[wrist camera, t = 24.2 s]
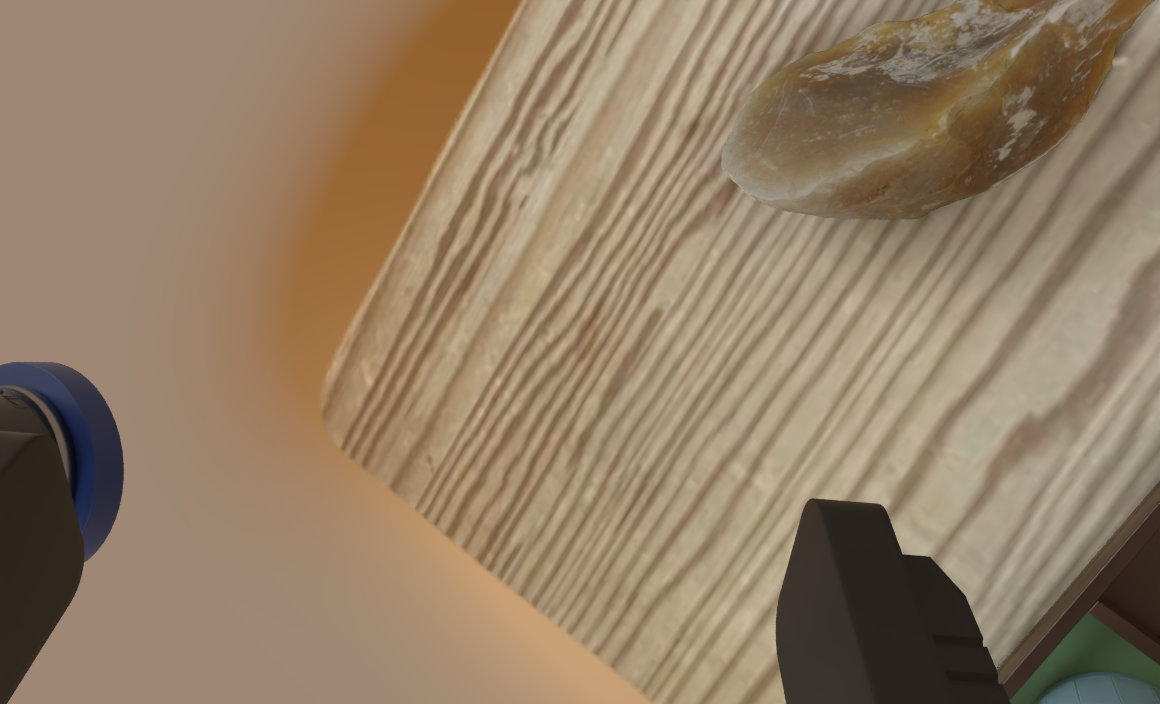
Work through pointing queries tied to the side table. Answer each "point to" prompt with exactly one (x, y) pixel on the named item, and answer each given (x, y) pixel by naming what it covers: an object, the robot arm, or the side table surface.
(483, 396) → the side table surface
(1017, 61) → the stone
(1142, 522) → the tray
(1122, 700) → the cup
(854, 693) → the robot arm
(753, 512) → the side table surface
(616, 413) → the side table surface
